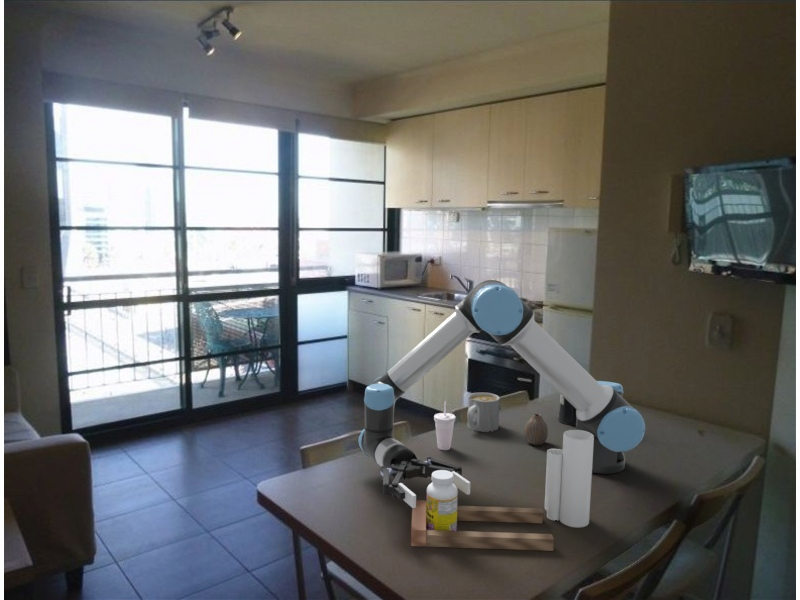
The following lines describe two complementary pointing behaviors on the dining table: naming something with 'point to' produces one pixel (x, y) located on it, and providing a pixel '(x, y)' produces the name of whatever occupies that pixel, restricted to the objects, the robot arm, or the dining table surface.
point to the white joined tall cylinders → (570, 479)
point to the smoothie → (444, 428)
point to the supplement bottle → (441, 502)
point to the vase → (536, 430)
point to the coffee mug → (483, 412)
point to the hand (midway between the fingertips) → (442, 495)
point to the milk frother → (567, 412)
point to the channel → (481, 538)
